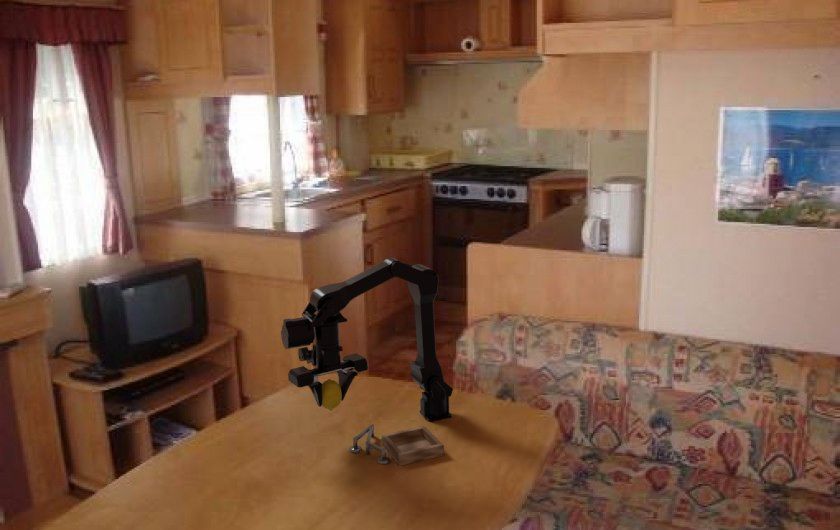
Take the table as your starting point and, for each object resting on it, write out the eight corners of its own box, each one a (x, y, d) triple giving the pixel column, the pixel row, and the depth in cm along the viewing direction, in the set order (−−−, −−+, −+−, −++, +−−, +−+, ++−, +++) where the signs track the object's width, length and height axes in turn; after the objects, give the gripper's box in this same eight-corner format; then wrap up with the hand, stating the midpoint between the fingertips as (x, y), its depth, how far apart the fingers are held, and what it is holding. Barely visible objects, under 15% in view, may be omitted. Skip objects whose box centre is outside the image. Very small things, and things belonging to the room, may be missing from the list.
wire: (373, 434, 192) (372, 423, 191) (396, 461, 178) (396, 449, 178) (342, 441, 189) (341, 430, 188) (363, 469, 175) (363, 457, 175)
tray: (424, 435, 191) (424, 425, 190) (444, 455, 181) (443, 444, 180) (382, 445, 186) (381, 435, 186) (400, 465, 177) (399, 455, 176)
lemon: (344, 405, 191) (343, 375, 189) (340, 415, 185) (338, 384, 184) (322, 405, 191) (320, 374, 189) (317, 415, 186) (315, 383, 184)
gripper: (345, 325, 196) (348, 383, 200) (276, 340, 186) (280, 401, 189) (368, 336, 187) (370, 397, 191) (296, 353, 177) (300, 417, 180)
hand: (330, 403), depth 188 cm, fingers closed on lemon, 5 cm apart
